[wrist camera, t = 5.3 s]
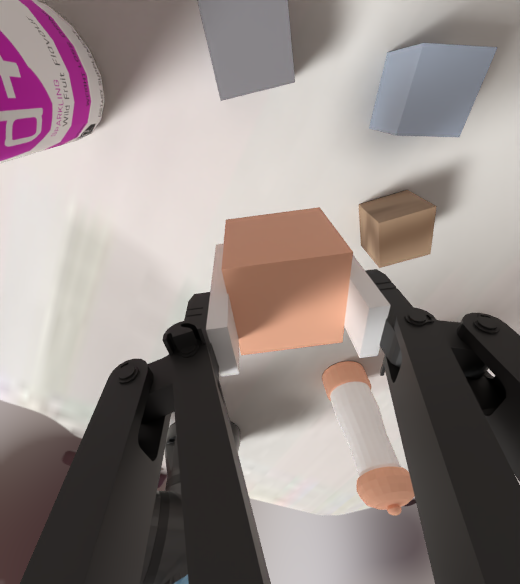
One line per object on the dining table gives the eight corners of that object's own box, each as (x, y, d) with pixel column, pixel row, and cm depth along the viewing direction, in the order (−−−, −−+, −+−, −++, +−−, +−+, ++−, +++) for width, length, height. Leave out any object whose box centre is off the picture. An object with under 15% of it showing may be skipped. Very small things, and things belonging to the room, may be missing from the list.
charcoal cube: (283, 84, 21) (295, 82, 17) (223, 99, 21) (220, 100, 17) (273, -7, 18) (284, -35, 14) (203, 12, 18) (194, -10, 14)
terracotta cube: (317, 284, 17) (342, 342, 13) (240, 294, 17) (241, 355, 13) (319, 207, 14) (352, 252, 10) (225, 219, 14) (221, 269, 10)
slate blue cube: (421, 129, 24) (459, 137, 20) (368, 128, 23) (396, 135, 19) (447, 55, 21) (497, 47, 17) (387, 52, 20) (423, 42, 16)
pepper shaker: (354, 355, 43) (421, 500, 28) (369, 376, 47) (433, 513, 31) (314, 372, 45) (355, 516, 30) (331, 391, 49) (375, 526, 33)
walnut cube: (404, 232, 30) (430, 254, 26) (360, 245, 31) (379, 267, 27) (406, 189, 27) (436, 206, 23) (358, 204, 28) (379, 223, 24)
